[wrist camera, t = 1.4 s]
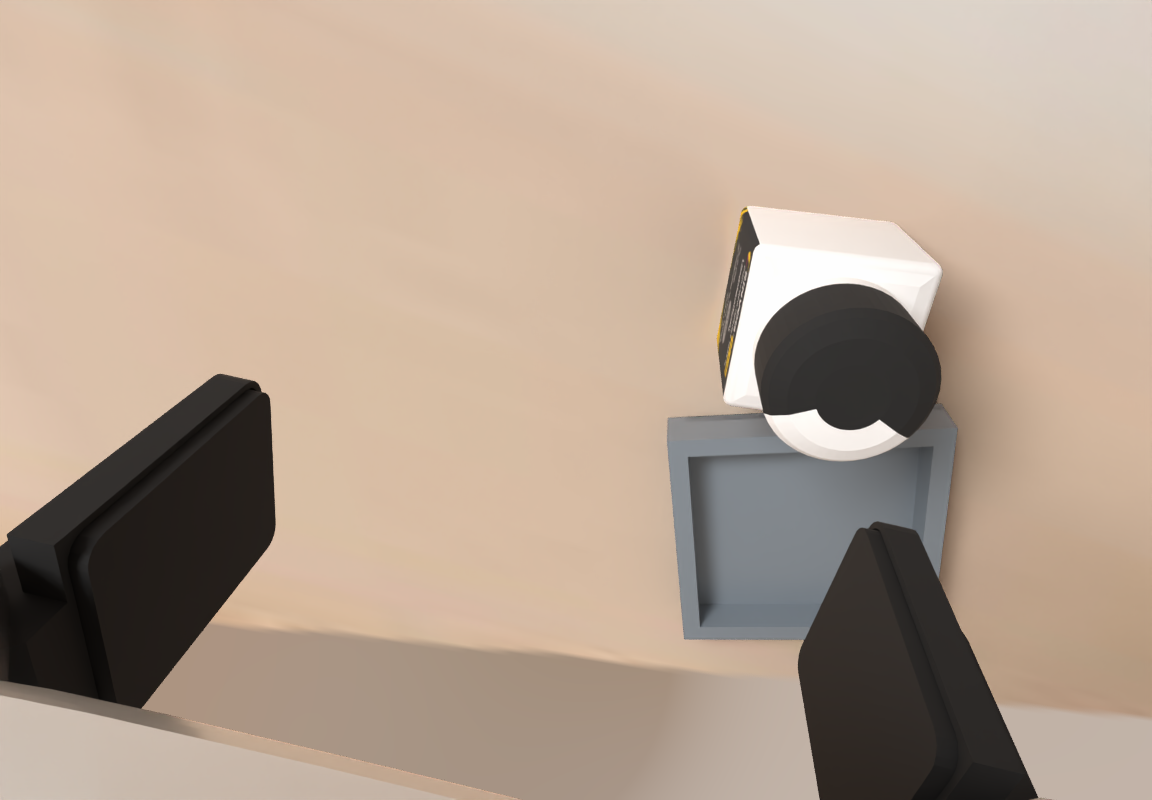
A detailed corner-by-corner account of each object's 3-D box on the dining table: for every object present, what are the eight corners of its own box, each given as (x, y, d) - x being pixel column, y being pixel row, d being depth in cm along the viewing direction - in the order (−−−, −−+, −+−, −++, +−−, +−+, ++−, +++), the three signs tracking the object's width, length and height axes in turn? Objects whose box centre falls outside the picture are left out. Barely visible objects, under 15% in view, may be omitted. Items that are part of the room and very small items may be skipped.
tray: (941, 403, 37) (957, 427, 35) (918, 608, 43) (931, 639, 41) (667, 417, 39) (667, 441, 37) (683, 609, 46) (684, 639, 43)
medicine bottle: (742, 202, 33) (770, 286, 23) (897, 220, 33) (999, 314, 22) (715, 342, 37) (728, 470, 26) (856, 360, 36) (927, 498, 26)
